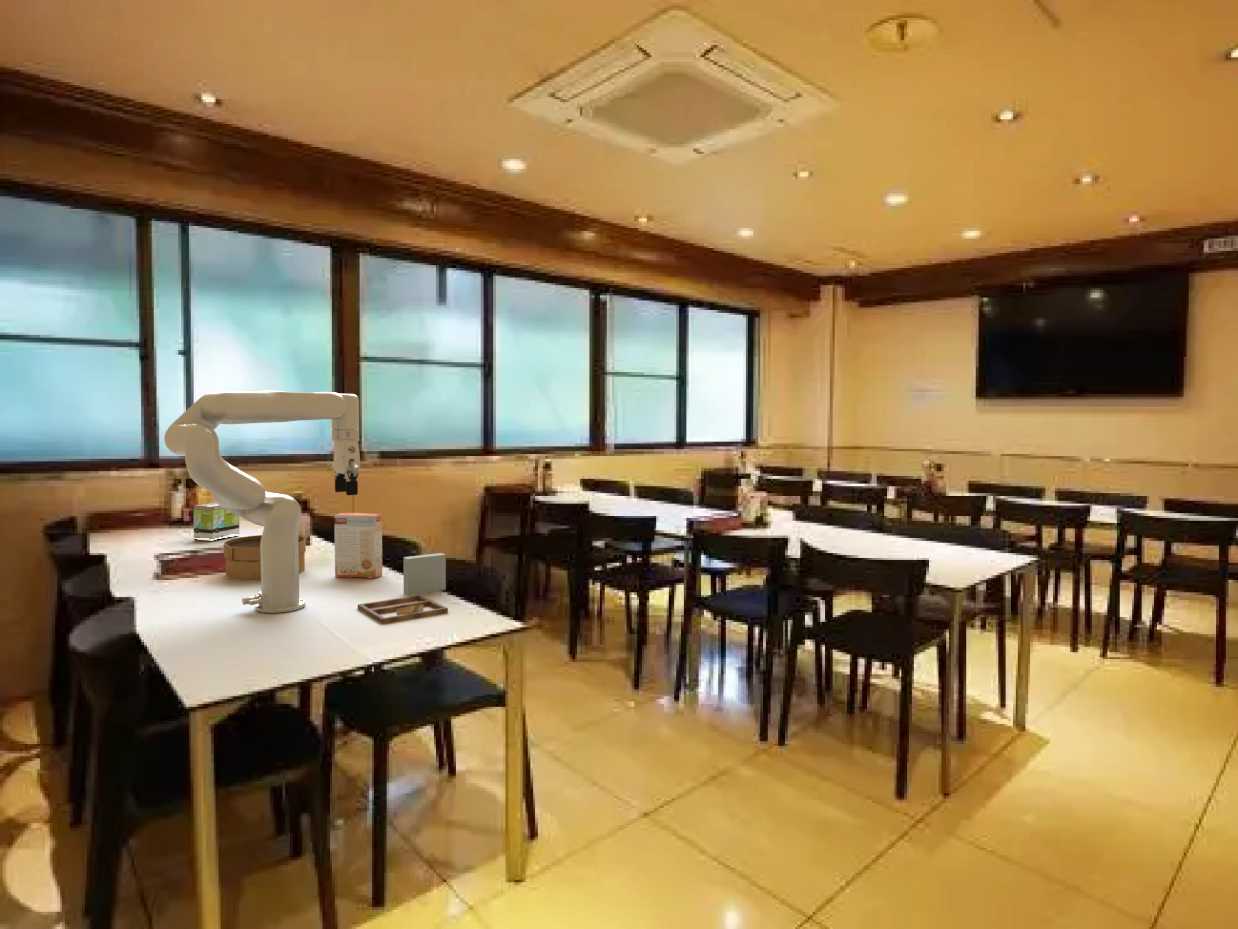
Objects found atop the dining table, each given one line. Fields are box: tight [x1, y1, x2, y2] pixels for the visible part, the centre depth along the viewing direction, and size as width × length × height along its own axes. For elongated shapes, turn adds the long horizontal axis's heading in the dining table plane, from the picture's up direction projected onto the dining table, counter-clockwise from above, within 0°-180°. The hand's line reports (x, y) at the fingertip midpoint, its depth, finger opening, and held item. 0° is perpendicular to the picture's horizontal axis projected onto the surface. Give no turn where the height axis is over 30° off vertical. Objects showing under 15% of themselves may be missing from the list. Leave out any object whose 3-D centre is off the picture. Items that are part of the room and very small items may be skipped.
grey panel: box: [403, 552, 447, 596], centre depth 219 cm, size 12×3×12 cm, turn 129°
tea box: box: [193, 502, 240, 539], centre depth 308 cm, size 15×10×15 cm, turn 167°
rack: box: [357, 594, 449, 625], centre depth 198 cm, size 18×18×2 cm
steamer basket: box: [223, 534, 307, 581], centre depth 247 cm, size 25×25×11 cm
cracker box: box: [333, 512, 383, 579], centre depth 242 cm, size 14×6×21 cm, turn 84°
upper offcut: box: [395, 605, 424, 616], centre depth 195 cm, size 8×4×2 cm, turn 172°
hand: (346, 493), depth 218 cm, fingers open, 9 cm apart
